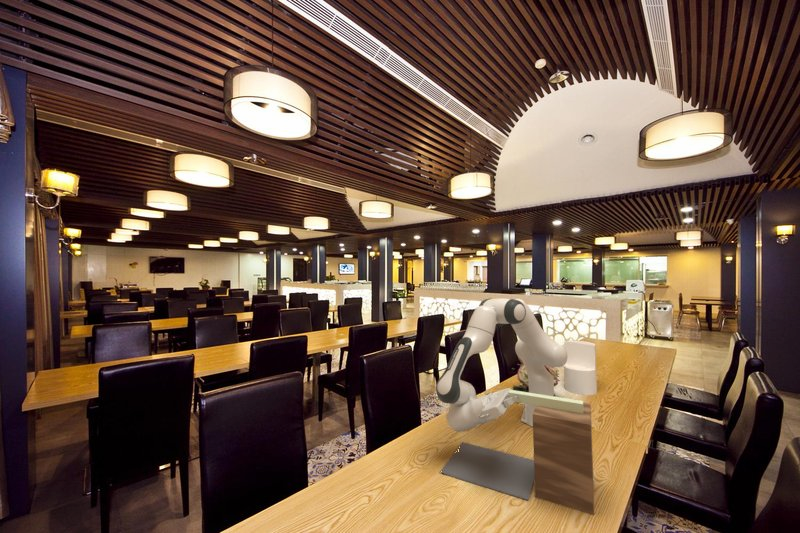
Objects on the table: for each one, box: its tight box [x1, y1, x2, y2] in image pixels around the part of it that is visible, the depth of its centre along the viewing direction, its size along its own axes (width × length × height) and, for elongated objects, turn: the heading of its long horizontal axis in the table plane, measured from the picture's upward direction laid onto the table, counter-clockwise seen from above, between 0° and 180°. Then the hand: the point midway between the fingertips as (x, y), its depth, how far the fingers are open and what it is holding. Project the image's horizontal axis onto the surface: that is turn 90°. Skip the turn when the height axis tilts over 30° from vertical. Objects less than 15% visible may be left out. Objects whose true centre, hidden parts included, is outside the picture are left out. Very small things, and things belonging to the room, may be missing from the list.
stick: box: [508, 389, 584, 414], centre depth 110 cm, size 3×23×3 cm, turn 60°
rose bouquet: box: [511, 354, 561, 404], centre depth 186 cm, size 26×29×30 cm
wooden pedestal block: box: [532, 402, 595, 516], centre depth 107 cm, size 18×16×26 cm
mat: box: [439, 441, 535, 502], centre depth 119 cm, size 24×30×1 cm
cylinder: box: [563, 340, 598, 396], centre depth 197 cm, size 17×17×28 cm
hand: (519, 395), depth 115 cm, fingers closed on stick, 3 cm apart
